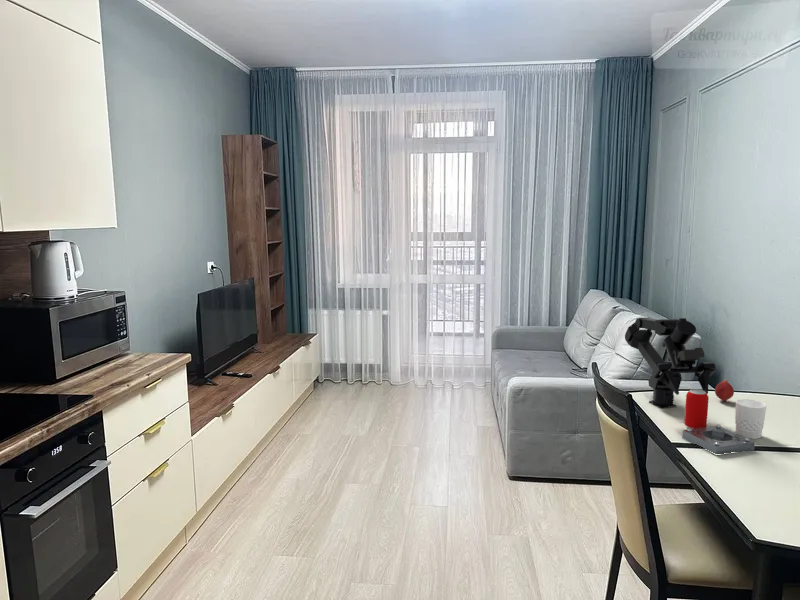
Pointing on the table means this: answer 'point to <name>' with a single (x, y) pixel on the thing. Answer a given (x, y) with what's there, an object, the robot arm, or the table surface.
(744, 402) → the white cup
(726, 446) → the housing
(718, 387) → the onion
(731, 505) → the table surface
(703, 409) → the beverage can
